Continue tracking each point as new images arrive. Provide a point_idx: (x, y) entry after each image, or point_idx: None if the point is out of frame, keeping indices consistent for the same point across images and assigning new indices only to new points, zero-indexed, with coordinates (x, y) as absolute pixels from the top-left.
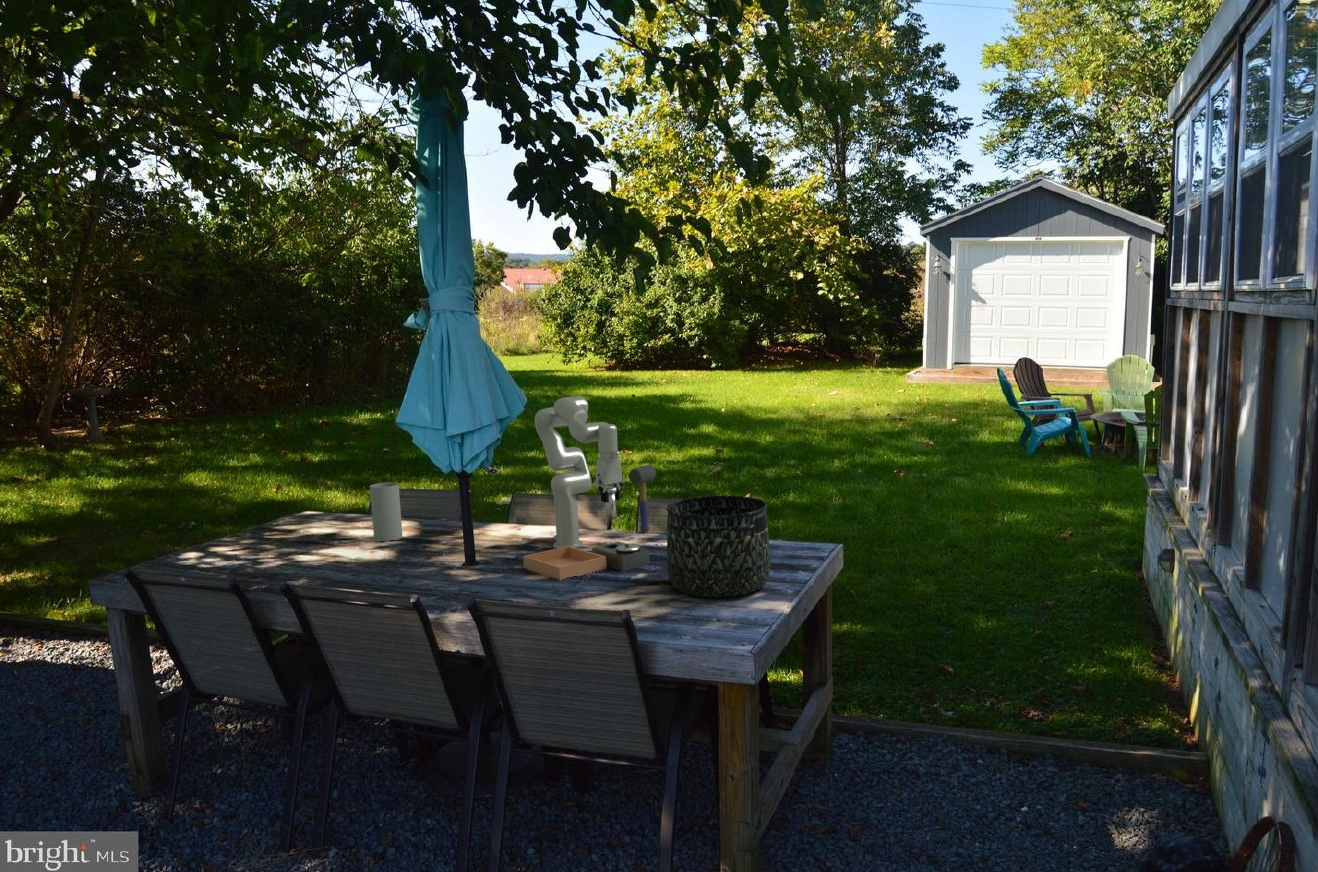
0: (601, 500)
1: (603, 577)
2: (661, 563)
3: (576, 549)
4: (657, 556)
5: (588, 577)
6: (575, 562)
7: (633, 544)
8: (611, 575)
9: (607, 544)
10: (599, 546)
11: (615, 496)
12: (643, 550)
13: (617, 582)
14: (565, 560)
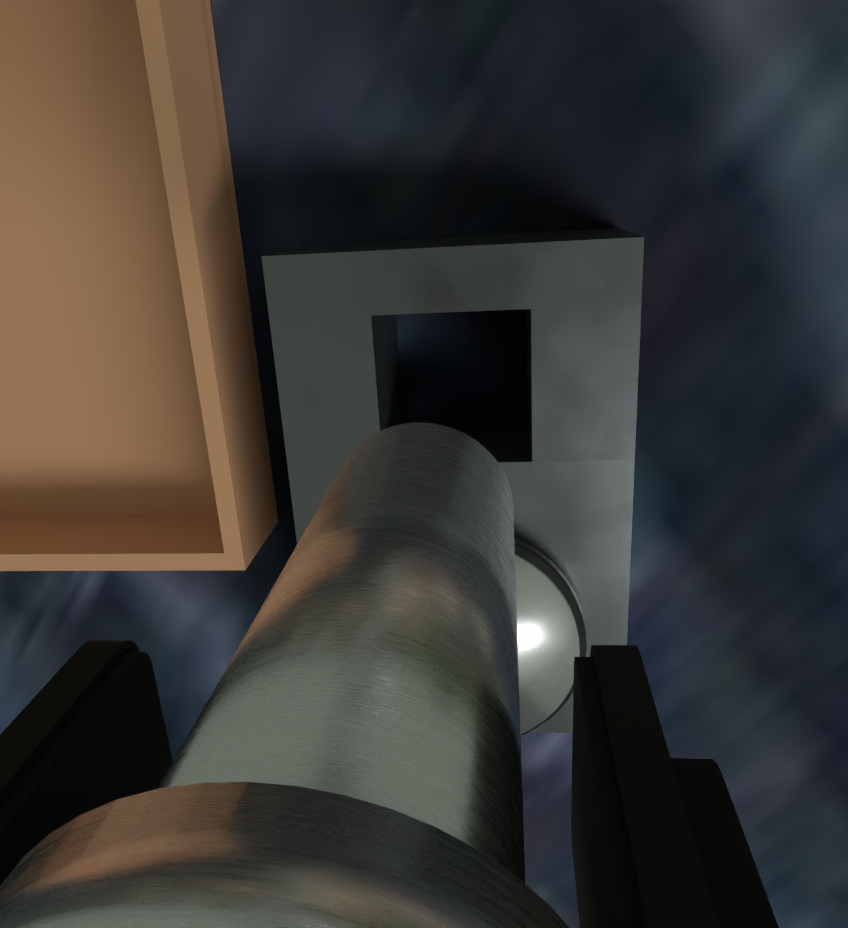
0: (80, 666)
1: (156, 670)
2: (693, 686)
3: (150, 75)
4: (844, 505)
5: (71, 600)
6: (123, 213)
7: (565, 617)
8: (224, 670)
9: (467, 263)
10: (348, 276)
11: (581, 821)
12: (569, 719)
13: None
14: (72, 63)
